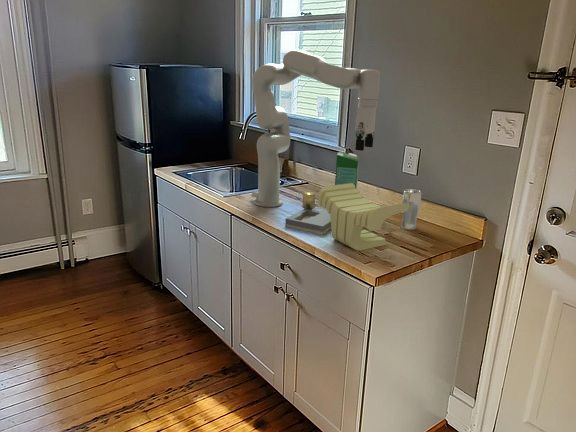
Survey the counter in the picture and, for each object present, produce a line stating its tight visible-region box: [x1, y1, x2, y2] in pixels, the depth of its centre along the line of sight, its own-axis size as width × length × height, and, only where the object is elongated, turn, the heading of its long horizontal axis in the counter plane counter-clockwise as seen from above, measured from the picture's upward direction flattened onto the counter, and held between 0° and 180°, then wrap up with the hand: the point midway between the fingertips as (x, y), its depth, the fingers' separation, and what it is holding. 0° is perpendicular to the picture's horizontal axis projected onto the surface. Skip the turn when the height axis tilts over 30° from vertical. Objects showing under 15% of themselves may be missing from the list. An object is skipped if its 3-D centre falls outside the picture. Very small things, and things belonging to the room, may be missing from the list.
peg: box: [301, 191, 316, 210], centre depth 201 cm, size 5×5×9 cm
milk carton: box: [334, 150, 360, 189], centre depth 207 cm, size 9×9×25 cm
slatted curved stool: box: [316, 183, 409, 251], centre depth 169 cm, size 30×16×18 cm, turn 31°
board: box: [284, 208, 332, 235], centre depth 188 cm, size 16×16×3 cm
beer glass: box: [400, 188, 422, 231], centre depth 187 cm, size 7×7×15 cm
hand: (364, 148), depth 186 cm, fingers open, 9 cm apart
